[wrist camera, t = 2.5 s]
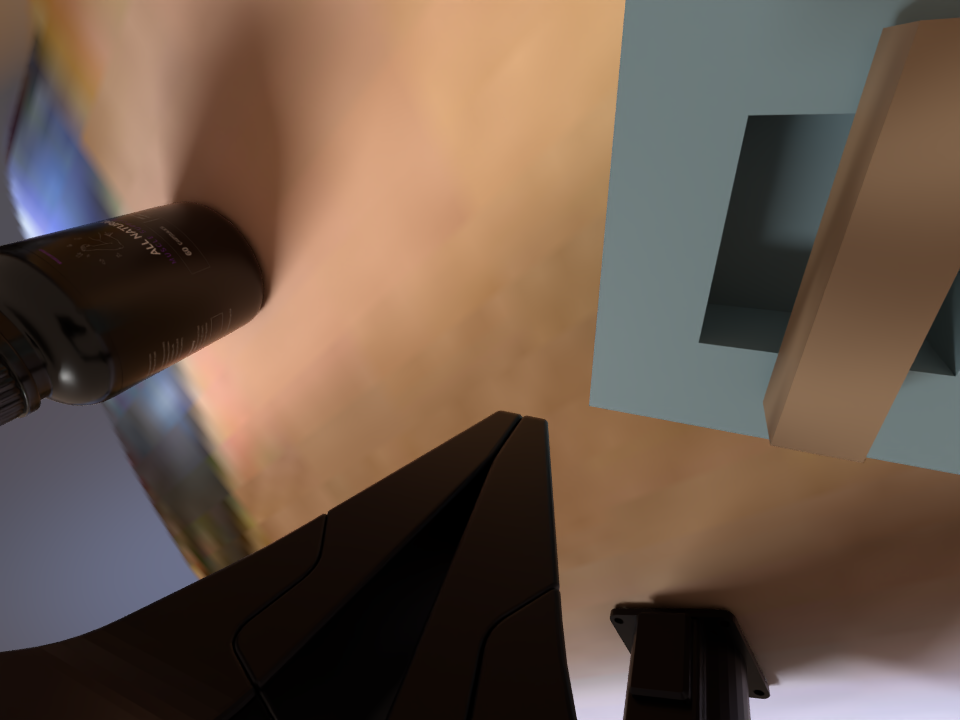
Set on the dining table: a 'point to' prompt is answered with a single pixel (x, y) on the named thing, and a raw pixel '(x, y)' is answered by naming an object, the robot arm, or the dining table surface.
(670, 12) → the socket
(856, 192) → the lock bar
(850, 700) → the dining table surface
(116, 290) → the supplement bottle
